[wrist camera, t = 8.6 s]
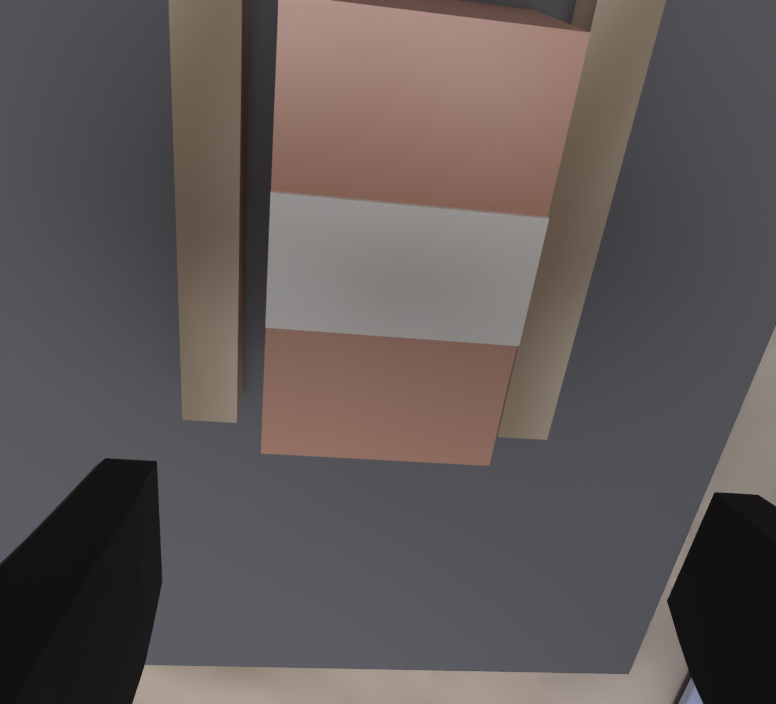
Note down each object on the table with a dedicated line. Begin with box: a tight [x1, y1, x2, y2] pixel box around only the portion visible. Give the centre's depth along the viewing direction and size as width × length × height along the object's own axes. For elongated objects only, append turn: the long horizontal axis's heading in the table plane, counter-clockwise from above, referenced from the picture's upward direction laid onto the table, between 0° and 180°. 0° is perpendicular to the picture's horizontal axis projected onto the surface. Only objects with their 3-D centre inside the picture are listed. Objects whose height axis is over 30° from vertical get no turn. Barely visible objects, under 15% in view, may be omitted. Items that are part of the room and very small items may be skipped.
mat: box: [0, 0, 776, 674], centre depth 18 cm, size 19×21×1 cm
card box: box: [261, 0, 591, 466], centre depth 14 cm, size 8×4×4 cm, turn 173°
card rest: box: [169, 0, 666, 440], centre depth 15 cm, size 8×10×1 cm
